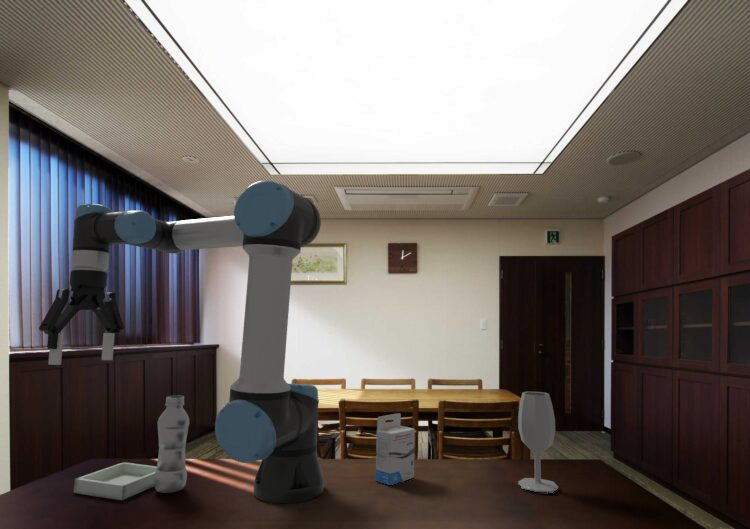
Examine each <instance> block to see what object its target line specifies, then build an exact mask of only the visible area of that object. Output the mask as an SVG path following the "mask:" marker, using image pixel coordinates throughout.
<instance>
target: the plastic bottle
mask: <svg viewBox="0 0 750 529" xmlns="http://www.w3.org/2000/svg"><path fill="white" fill-rule="evenodd" d="M164 406H165V410H163V411H162V413H161V414H160V415H159V418H158V420H157V434H158V456H157V464H156V467H157V470H156V472H155V477H154V488H155V490H156V492H158V493H161V494H170V493H172V494H173V493H176V492H179V491H182V490H183V489H184V487H185V486H186V484H187V479H188V473H187V467H186V445H187V436H188V431H189V426H190V417H189V415H188V413H187V411H186V410H185V409H184V406H185V395H169V396H166V398H165V404H164Z"/></svg>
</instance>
